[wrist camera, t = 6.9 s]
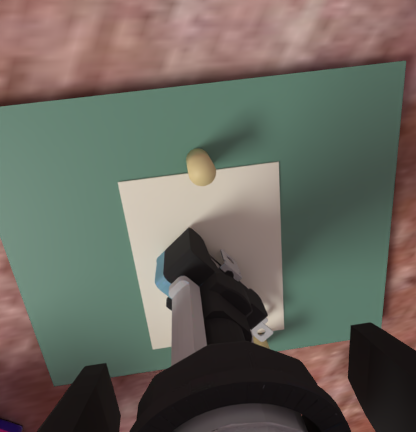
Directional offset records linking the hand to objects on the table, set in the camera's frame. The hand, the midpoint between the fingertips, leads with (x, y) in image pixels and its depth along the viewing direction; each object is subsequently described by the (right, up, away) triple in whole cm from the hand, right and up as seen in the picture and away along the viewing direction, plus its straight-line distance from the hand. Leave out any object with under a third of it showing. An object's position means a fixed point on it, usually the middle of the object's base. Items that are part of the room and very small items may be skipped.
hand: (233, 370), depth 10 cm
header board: (-1, +4, +7) cm, 8 cm away
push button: (0, +1, +7) cm, 7 cm away
